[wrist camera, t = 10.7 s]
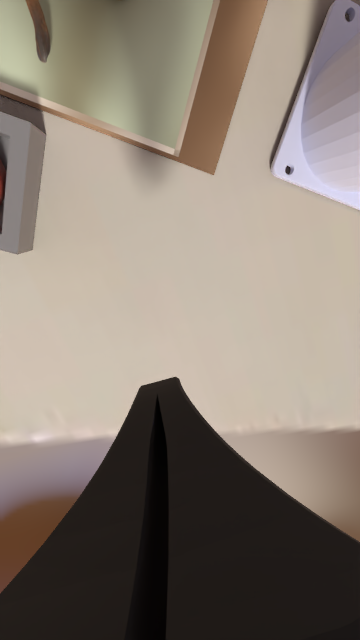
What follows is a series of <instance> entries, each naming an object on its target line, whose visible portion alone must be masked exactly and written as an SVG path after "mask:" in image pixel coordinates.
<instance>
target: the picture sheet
mask: <svg viewBox="0 0 360 640" xmlns="http://www.w3.org/2000/svg"><path fill="white" fill-rule="evenodd" d="M267 1H268V0H39V3H40V5H41V8H42V11H43V13H44V17H45V22H46V25H47V28H48V32H49V36H50V45H51V49H50V53H49V55H48V58H47V62H46V63H43V62H41V61H40V60H39V58H38V55H37V50H36V40H35V28H34V24H33V20H32V18H31V15H30V12H29V9H28V6H27V3H26V1H25V0H0V95H3V96H6V97H8V98H11V99H14V100H16V101H19V102H22V103H24V104H27V105H30V106H32V107H35V108H38V109H40V110H43V111H45V112H48V113H51V114H53V115H56V116H59V117H61V118H64V119H67V120H69V121H72V122H75V123H77V124H80V125H83V126H85V127H88V128H90V129H93V130H96V131H98V132H101V133H104V134H106V135H109V136H112V137H114V138H117V139H120V140H122V141H125V142H128V143H130V144H133V145H135V146H138V147H141V148H143V149H146V150H149V151H151V152H154V153H157V154H159V155H162V156H165V157H167V158H170V159H173V160H175V161H178V162H180V163H183V164H186V165H188V166H191V167H194V168H196V169H199V170H202V171H204V172H207V173H210V174H212V175H214V173H215V170H216V166H217V163H218V160H219V157H220V153H221V150H222V147H223V144H224V141H225V137H226V134H227V131H228V128H229V124H230V121H231V118H232V115H233V111H234V108H235V105H236V102H237V98H238V95H239V92H240V89H241V86H242V82H243V79H244V76H245V73H246V69H247V66H248V63H249V60H250V56H251V53H252V50H253V47H254V43H255V40H256V37H257V34H258V31H259V27H260V24H261V21H262V18H263V14H264V11H265V8H266V5H267Z"/></svg>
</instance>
